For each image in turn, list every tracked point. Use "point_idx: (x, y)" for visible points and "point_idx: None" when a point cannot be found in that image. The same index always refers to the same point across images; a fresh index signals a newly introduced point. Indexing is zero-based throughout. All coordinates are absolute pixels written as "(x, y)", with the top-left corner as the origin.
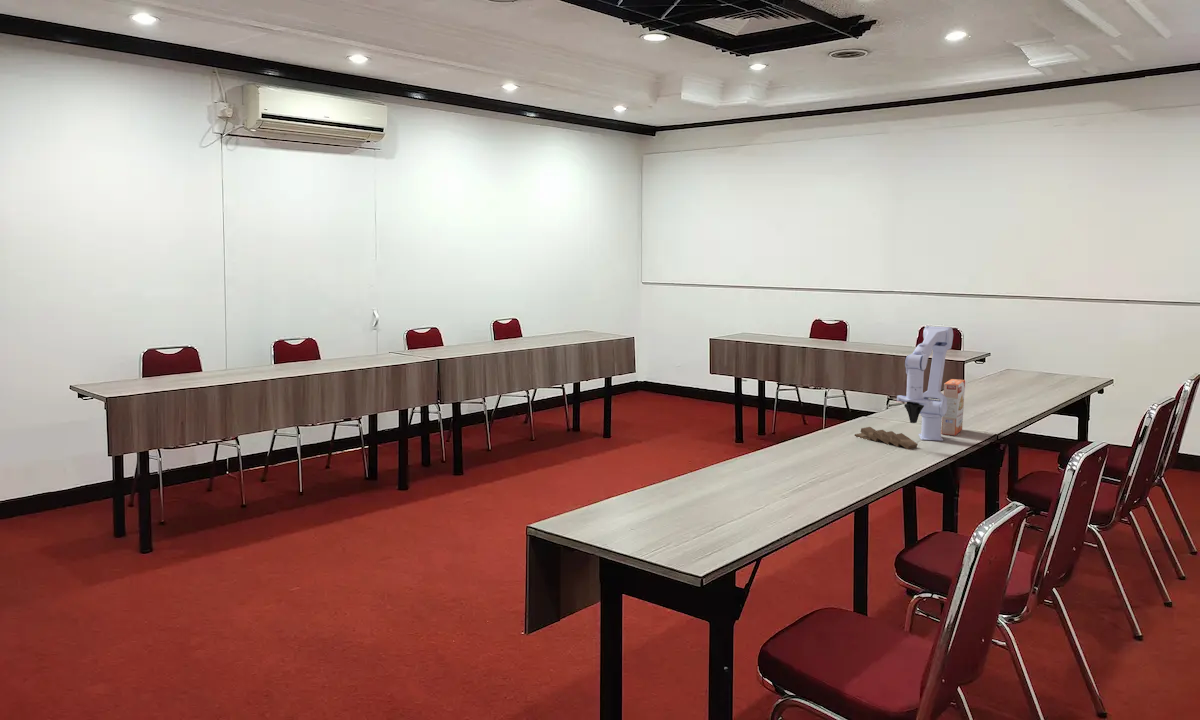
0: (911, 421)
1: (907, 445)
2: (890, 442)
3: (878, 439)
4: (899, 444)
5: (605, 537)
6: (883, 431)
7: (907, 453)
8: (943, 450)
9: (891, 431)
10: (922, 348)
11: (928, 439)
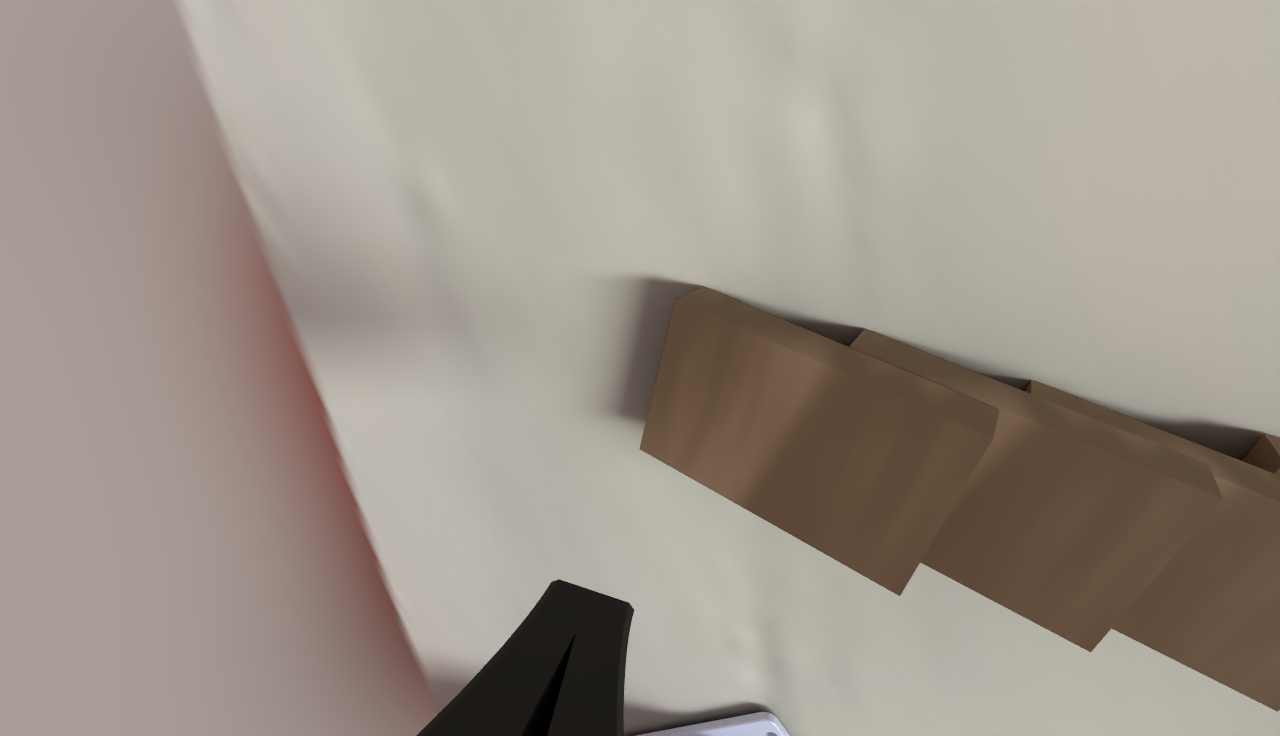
0: (580, 609)
1: (699, 307)
2: None
3: None
4: None
5: None
6: (1237, 657)
7: (595, 62)
8: (430, 466)
9: (1089, 638)
10: None
11: (713, 725)
